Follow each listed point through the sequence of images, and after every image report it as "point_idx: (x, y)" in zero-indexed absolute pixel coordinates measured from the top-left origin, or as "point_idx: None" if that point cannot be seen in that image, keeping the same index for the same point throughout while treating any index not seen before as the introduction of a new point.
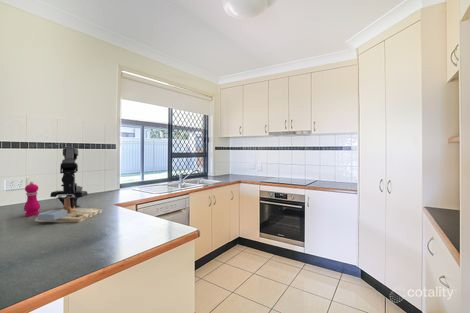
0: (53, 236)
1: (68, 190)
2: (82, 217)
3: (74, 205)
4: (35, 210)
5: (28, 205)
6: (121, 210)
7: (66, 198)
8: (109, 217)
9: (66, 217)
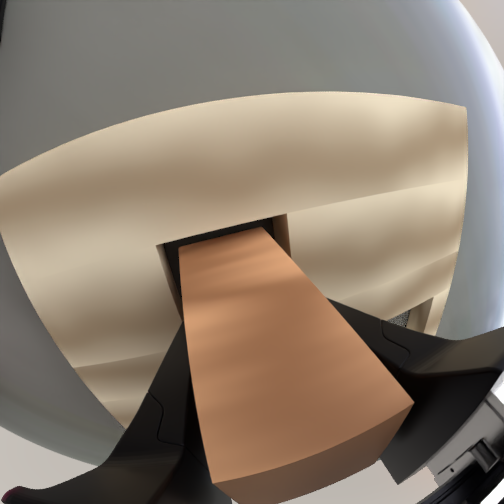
0: None
1: None
2: (434, 330)
3: (333, 302)
4: None
5: None
6: (492, 71)
7: (251, 500)
8: (495, 223)
9: None
